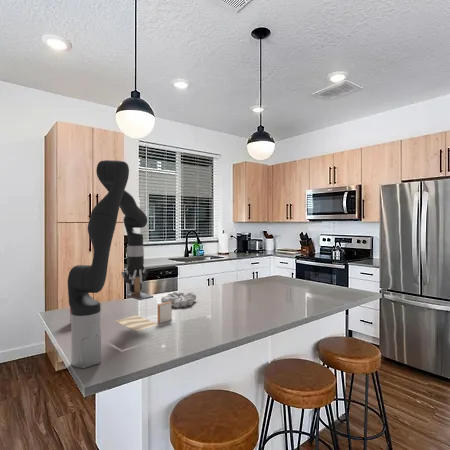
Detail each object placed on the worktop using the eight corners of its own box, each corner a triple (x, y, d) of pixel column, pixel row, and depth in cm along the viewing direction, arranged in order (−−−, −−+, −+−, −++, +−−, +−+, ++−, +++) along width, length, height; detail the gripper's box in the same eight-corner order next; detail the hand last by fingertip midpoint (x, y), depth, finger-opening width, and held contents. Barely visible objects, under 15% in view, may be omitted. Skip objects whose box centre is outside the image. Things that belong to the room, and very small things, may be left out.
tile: (171, 320, 153) (171, 302, 153) (159, 324, 148) (159, 304, 148) (169, 319, 154) (169, 301, 154) (157, 323, 149) (157, 304, 149)
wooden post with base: (126, 296, 148) (126, 277, 148) (139, 293, 153) (139, 275, 153) (139, 300, 140) (139, 280, 140) (153, 297, 145) (153, 278, 145)
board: (159, 325, 146) (159, 324, 146) (136, 332, 137) (136, 331, 137) (136, 316, 159) (136, 315, 159) (114, 322, 151) (114, 320, 151)
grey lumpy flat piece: (158, 300, 192) (158, 290, 192) (191, 297, 199) (191, 288, 199) (164, 310, 171) (164, 300, 171) (201, 307, 179) (201, 297, 179)
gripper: (125, 257, 141) (126, 295, 141) (152, 254, 151) (152, 290, 152) (117, 255, 146) (117, 292, 147) (144, 253, 157) (144, 288, 157)
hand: (135, 291), depth 149 cm, fingers closed on wooden post with base, 3 cm apart
